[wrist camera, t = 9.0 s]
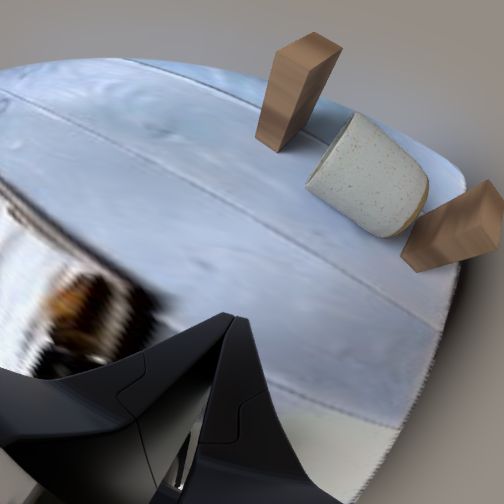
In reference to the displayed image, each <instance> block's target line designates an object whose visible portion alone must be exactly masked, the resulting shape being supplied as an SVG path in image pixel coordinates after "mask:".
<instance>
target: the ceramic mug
mask: <svg viewBox="0 0 504 504" xmlns="http://www.w3.org/2000/svg"><path fill="white" fill-rule="evenodd" d="M305 189H307V190H308V191H309V192H311V193H312V194H314V195H315V196H317V197H318V198H320V199H322V200H323V201H325V202H326V203H328V204H329V205H331V206H332V207H333V208H335V209H336V210H338V211H339V212H341V213H342V214H344V215H345V216H347V217H348V218H350V219H351V220H352V221H354V222H355V223H356V224H358V225H359V226H360V227H362V228H363V229H364V230H366V231H368V232H370V233H372V234H373V235H375V236H378V237H380V238H390V237H393V236H396V235H398V234H400V233H401V232H403V231H404V230H405V229H406V228H407V227H408V226H409V225H411V224H412V222H413V221H414V220H415V219H416V217H417V216H418V215H419V213H420V212H421V210H422V208H423V206H424V204H425V202H426V199H427V196H428V191H429V180H428V177H427V175H426V173H425V172H424V170H423V169H422V168H421V166H420V165H419V164H418V163H417V162H416V160H415V159H414V158H412V157H411V156H410V155H409V154H408V153H407V152H406V151H405V150H404V149H403V148H401V147H400V146H399V145H398V144H397V143H396V142H395V141H393V140H392V139H391V138H390V137H389V136H388V135H387V134H386V133H384V132H383V131H382V130H381V129H380V128H379V127H377V126H376V125H375V124H374V123H372V122H371V121H370V120H369V119H368V118H366V117H365V116H364V115H362V114H361V113H359V112H355V113H354V114H352V116H351V117H350V118H349V119H348V120H347V122H346V123H345V124H344V126H343V127H342V129H341V130H340V132H339V133H338V134H337V136H336V137H335V139H334V140H333V142H332V143H331V144H330V145H329V147H328V149H327V150H326V151H325V153H324V154H323V156H322V157H321V159H320V161H319V162H318V164H317V165H316V166H315V168H314V170H313V171H312V173H311V175H310V176H309V178H308V180H307V182H306V183H305Z"/></svg>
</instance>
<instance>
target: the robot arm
mask: <svg viewBox="0 0 504 504" xmlns="http://www.w3.org/2000/svg"><path fill="white" fill-rule="evenodd" d="M208 396H209V398H208ZM207 398H208V402H207V406H206V410H205V415H204V419H203V423H202V427H201V431H200V435H199V439H198V444H197V447H196V451H195V455H194V459H193V462H192V465H191V468H190V471H189V473H188V476H187V479H186V481H185V484H184V486H183V489H182V490H180V489H178V487H180V484H181V479H182V474H183V469H184V464H185V460H186V455H187V450H188V446H189V441H190V436H191V432H190V430H191V428H192V426H193V424H194V422H195V420H196V419H197V417H198V415H199V413H200V411H201V409H202V408H203V406H204V404H205V402H206V400H207ZM175 483H177V484H175ZM0 504H343V503H341V502H340V501H338V500H337V499H335V498H334V497H332V496H331V495H329V494H328V493H326V492H325V491H323V490H322V489H320V488H319V487H318V486H317V485H316V484H314V483H313V482H312V480H311V479H310V478H309V477H308V475H307V474H306V472H305V471H304V469H303V467H302V465H301V463H300V461H299V460H298V458H297V456H296V454H295V452H294V450H293V448H292V446H291V444H290V442H289V440H288V438H287V436H286V434H285V432H284V430H283V428H282V426H281V423H280V421H279V419H278V417H277V414H276V411H275V408H274V406H273V403H272V400H271V396H270V393H269V391H268V386H267V383H266V379H265V376H264V372H263V369H262V365H261V362H260V358H259V355H258V351H257V348H256V344H255V340H254V337H253V333H252V330H251V326H250V322H249V320H248V319H247V318H243V317H239V316H236V317H235V316H234V315H232V314H228V313H224V312H222V313H219V314H217V315H215V316H213V317H211V318H209V319H207V320H205V321H203V322H201V323H199V324H197V325H195V326H193V327H191V328H189V329H187V330H185V331H183V332H181V333H179V334H177V335H174V336H172V337H170V338H168V339H166V340H164V341H162V342H160V343H158V344H155V345H153V346H151V347H149V348H147V349H145V350H143V351H140V352H138V353H136V354H133V355H131V356H129V357H126V358H124V359H122V360H119V361H117V362H114V363H111V364H108V365H105V366H102V367H99V368H96V369H93V370H89V371H86V372H82V373H79V374H76V375H72V376H68V377H65V378H61V379H56V380H40V379H35V378H32V377H28V376H25V375H22V374H19V373H16V372H13V371H10V370H7V369H4V368H1V367H0Z"/></svg>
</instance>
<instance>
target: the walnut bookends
mask: <svg viewBox="0 0 504 504" xmlns="http://www.w3.org/2000/svg"><path fill="white" fill-rule="evenodd" d="M342 49H343V48H342V47H340V46H339V45H337V44H335V43H333V42H332V41H330V40H328V39H326V38H325V37H323V36H321V35H319V34H317V33H315V32H313V33H311V34H309V35H307V36H305V37H303V38H301V39H299V40H297V41H295V42H293V43H291V44H289V45H288V46H286V47H284V48H282V49H280V50H279V51H277V52H276V54H275V58H274V61H273V65H272V69H271V73H270V77H269V81H268V85H267V89H266V93H265V97H264V101H263V105H262V110H261V114H260V118H259V122H258V126H257V131H256V135H255V138H256V139H258V140H259V141H261V142H262V143H264V144H265V145H266V146H268V147H269V148H271V149H272V150H273V151H275V152H276V153H278V152H279V151H280V150H281V149H282V148H283V147H284V146H285V145H286V144H287V143H288V142H289V141H290V140H291V139H292V138H293V136H294V135H295V134H296V133H298V132H299V131H300V130H301V129H302V128H303V127H304V126H305V125H306V123H307V121H308V119H309V117H310V115H311V113H312V111H313V109H314V107H315V105H316V103H317V101H318V99H319V96H320V94H321V92H322V90H323V88H324V86H325V84H326V82H327V80H328V78H329V76H330V74H331V72H332V69H333V68H334V66H335V63H336V61H337V59H338V57H339V55H340V53H341V51H342ZM503 211H504V200H503V199H502V197H501V196H500V194H499V193H498V192H497V190H496V189H495V187H494V186H493V184H492V183H491V182H490V181H489V179H488V180H486V181H484V182H482V183H481V184H479V185H477V186H475V187H474V188H472V189H470V190H468V191H467V192H465V193H463V194H461V195H460V196H458V197H456V198H454V199H452V200H451V201H449V202H447V203H445V204H443V205H441V206H440V207H438V208H436V209H434V210H432V211H430V212H428V213H427V214H425V215H423V216H421V217H419V218H418V219H417V221H416V223H415V225H414V228H413V230H412V232H411V234H410V236H409V238H408V241H407V243H406V245H405V247H404V249H403V251H402V253H401V255H400V257H401V258H402V259H403V260H404V261H405V262H407V263H408V264H409V265H410V266H411V267H412V268H413V270H414V271H415V272H416V273H417V272H421V271H425V270H428V269H432V268H436V267H440V266H443V265H447V264H450V263H454V262H458V261H461V260H464V259H468V258H471V257H475V256H478V255H481V254H484V253H488V252H491V251H494V250H497V249H498V245H499V239H500V233H501V227H502V220H503Z"/></svg>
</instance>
